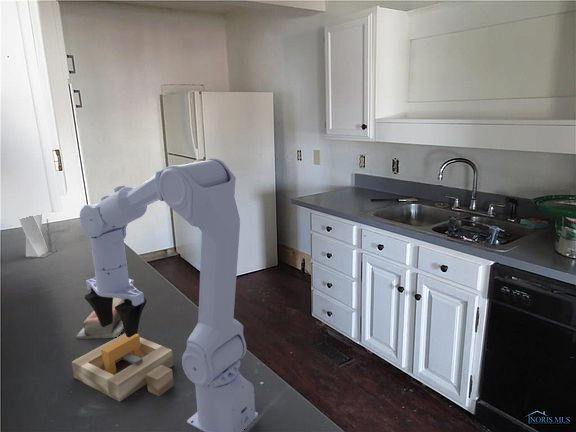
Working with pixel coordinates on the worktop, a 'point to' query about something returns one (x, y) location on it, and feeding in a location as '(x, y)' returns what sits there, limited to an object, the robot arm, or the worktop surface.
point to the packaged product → (96, 330)
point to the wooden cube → (159, 380)
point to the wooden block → (120, 351)
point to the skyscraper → (36, 237)
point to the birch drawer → (129, 378)
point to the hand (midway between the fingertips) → (119, 329)
